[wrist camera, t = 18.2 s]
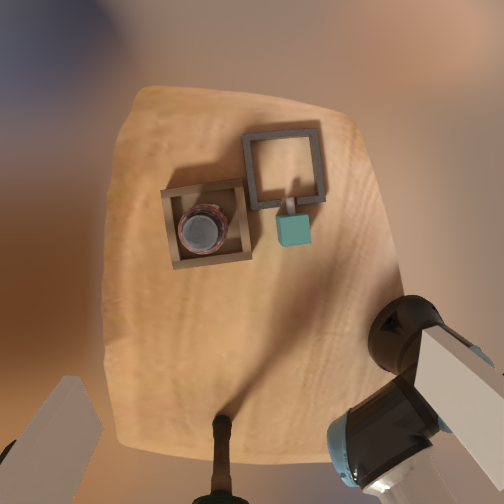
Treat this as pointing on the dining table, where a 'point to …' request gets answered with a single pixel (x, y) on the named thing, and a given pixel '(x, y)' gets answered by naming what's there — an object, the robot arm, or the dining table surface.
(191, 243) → the supplement bottle
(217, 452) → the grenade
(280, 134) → the socket collar
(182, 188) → the open box
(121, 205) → the dining table surface
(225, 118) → the dining table surface
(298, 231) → the pin
